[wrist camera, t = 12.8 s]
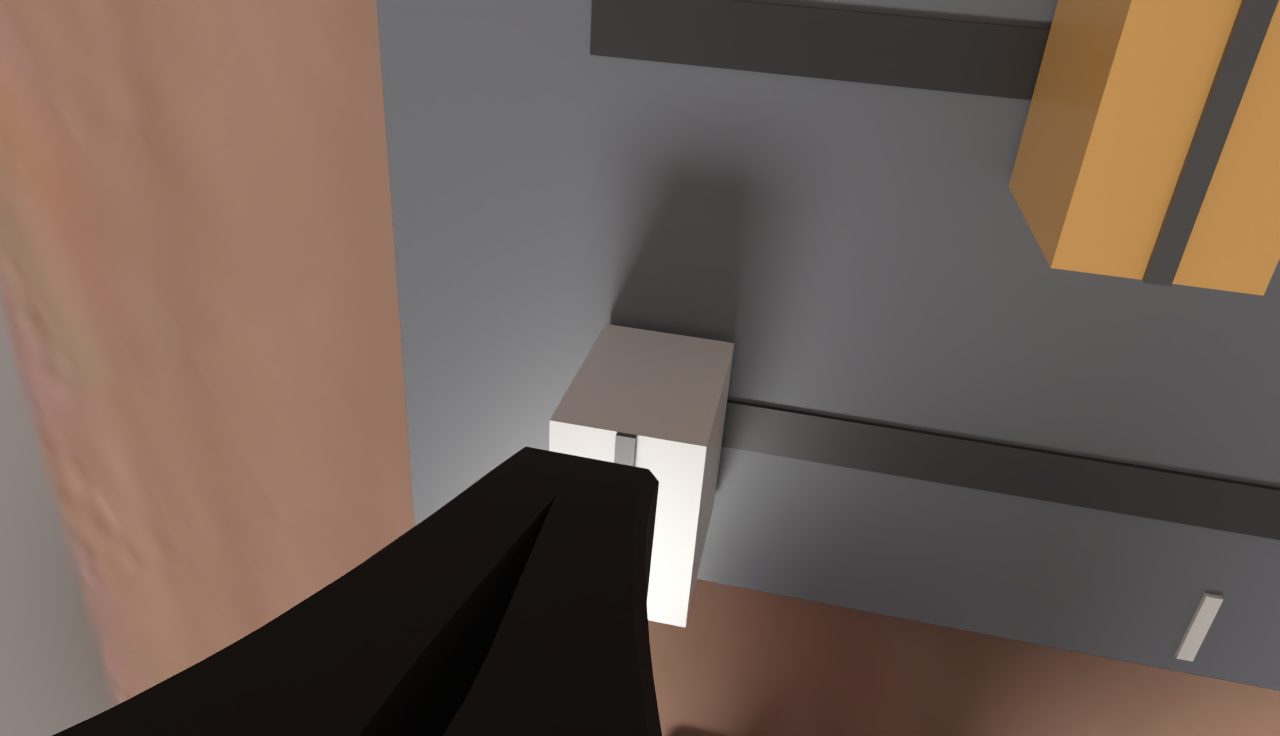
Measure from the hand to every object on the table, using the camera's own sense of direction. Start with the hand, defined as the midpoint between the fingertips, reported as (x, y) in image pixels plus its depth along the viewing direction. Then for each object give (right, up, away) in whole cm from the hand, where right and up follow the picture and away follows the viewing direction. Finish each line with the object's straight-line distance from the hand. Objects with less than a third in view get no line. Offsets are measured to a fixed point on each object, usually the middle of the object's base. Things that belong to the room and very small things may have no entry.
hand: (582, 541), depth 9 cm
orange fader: (+8, +6, +4) cm, 10 cm away
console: (+6, +4, +7) cm, 10 cm away
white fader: (+1, +1, +8) cm, 9 cm away
